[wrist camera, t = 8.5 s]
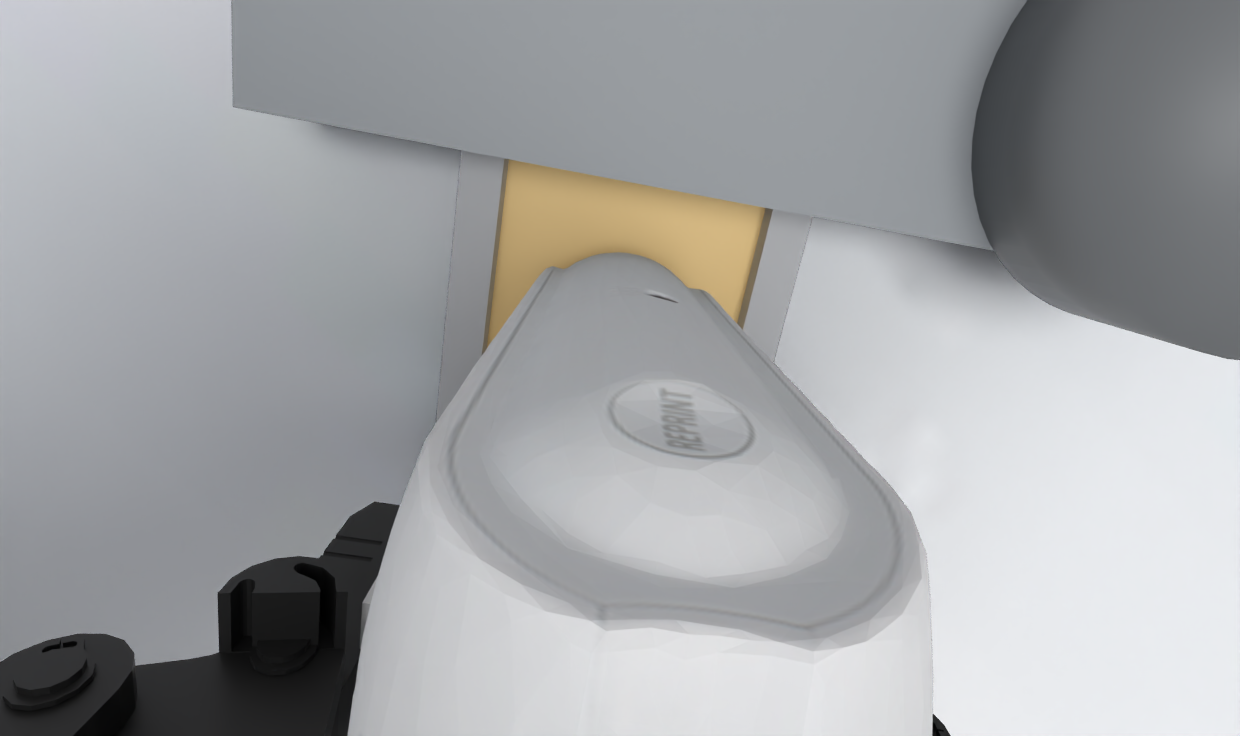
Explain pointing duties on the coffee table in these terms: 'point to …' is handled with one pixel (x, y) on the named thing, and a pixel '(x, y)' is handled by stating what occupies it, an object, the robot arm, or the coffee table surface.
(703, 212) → the deck
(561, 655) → the photo printer
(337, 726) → the robot arm
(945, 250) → the coffee table surface
